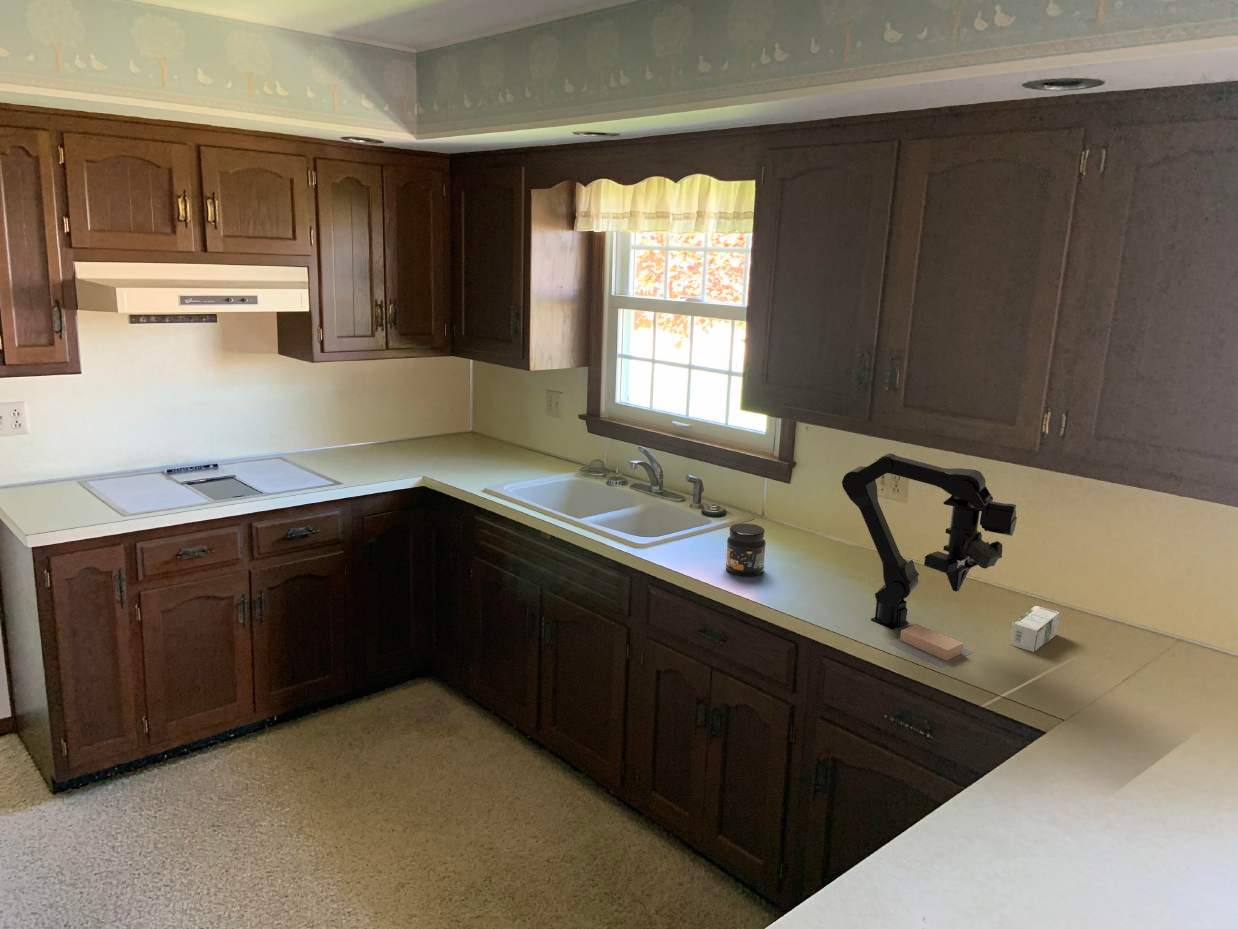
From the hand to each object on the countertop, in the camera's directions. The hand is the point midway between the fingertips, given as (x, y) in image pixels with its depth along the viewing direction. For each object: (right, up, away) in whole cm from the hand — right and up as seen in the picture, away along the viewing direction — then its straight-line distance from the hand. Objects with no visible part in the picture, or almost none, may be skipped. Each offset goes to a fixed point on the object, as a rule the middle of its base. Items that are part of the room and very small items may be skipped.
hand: (955, 590), depth 206 cm
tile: (-4, -11, -1) cm, 12 cm away
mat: (-7, -13, -2) cm, 15 cm away
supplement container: (-42, 0, +42) cm, 59 cm away
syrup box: (+14, -10, -3) cm, 18 cm away
